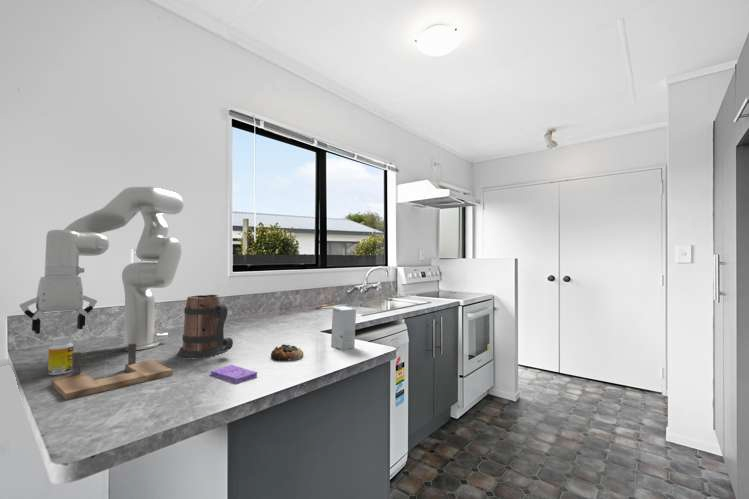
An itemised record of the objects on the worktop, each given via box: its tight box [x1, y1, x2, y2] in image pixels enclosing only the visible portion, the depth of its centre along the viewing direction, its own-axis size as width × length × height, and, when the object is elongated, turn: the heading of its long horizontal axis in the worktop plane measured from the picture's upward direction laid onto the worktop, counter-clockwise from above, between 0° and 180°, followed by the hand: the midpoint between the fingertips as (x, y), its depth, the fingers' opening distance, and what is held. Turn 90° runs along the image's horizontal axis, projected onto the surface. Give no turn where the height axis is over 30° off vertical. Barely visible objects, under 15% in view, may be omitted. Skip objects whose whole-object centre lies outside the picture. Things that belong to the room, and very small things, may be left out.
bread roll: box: [270, 344, 304, 362], centre depth 126 cm, size 11×11×5 cm
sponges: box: [210, 364, 258, 384], centre depth 106 cm, size 7×13×2 cm, turn 55°
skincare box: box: [330, 305, 357, 351], centre depth 139 cm, size 8×6×15 cm
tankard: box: [175, 294, 234, 360], centre depth 130 cm, size 24×17×20 cm
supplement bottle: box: [47, 336, 75, 376], centre depth 108 cm, size 6×6×10 cm
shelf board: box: [50, 343, 174, 401], centre depth 102 cm, size 24×17×8 cm
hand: (59, 331), depth 107 cm, fingers open, 9 cm apart
